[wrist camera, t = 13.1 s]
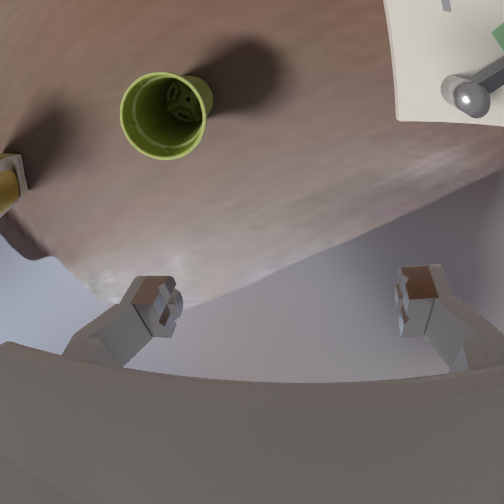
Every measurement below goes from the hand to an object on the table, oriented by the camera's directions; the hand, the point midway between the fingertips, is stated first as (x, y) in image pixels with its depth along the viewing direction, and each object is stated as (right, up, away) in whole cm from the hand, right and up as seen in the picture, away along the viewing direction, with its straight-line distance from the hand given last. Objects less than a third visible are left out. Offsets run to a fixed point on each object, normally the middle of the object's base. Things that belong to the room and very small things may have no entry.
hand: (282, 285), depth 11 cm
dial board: (+22, +25, +13) cm, 36 cm away
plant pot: (-9, +20, +24) cm, 32 cm away
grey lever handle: (+26, +22, +12) cm, 37 cm away
